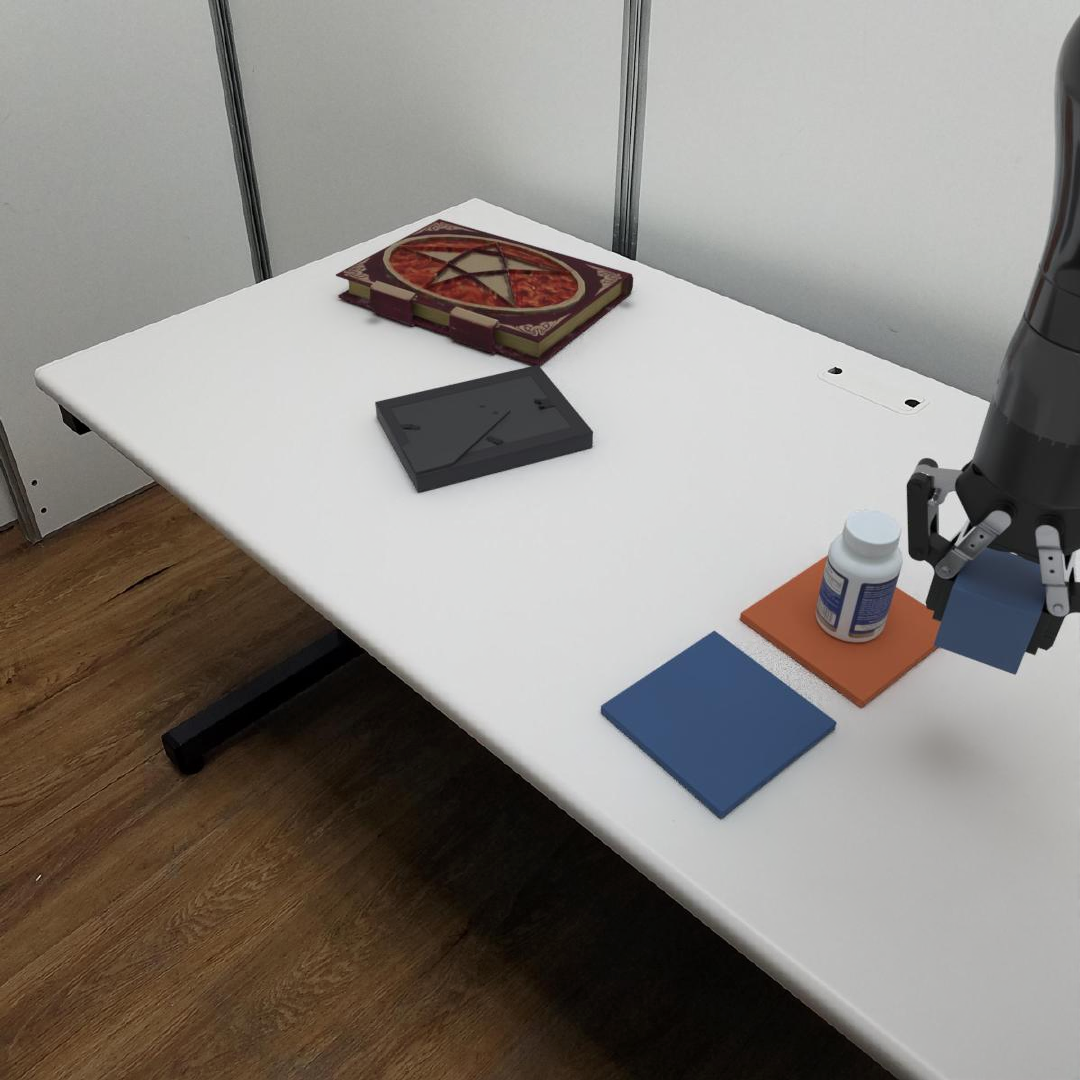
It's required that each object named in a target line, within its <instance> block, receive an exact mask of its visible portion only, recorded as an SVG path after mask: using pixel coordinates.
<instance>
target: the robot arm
mask: <svg viewBox="0 0 1080 1080" xmlns="http://www.w3.org/2000/svg"><path fill="white" fill-rule="evenodd" d="M1064 37H1065V38H1064V39H1063V41H1062V44H1061V47H1060V49H1059V53H1058V56H1057V60H1056V66H1055V72H1054V85H1053V86H1054V87H1053V121H1054V122H1053V123H1054V124H1053V125H1054V172H1053V184H1052V198H1051V207H1050V213H1049V214H1050V215H1049V222H1048V229H1047V234H1046V239H1045V242H1044V246H1043V250H1042V253H1041V256H1040V260H1039V263H1038V265H1037V269H1036V272H1035V275H1034V276H1035V277H1034V279H1033V282H1032V286H1031V288H1030V291H1029V294H1028V298H1027V301H1026V304H1025V307H1024V310H1023V313H1022V315H1021V319H1020V320H1019V322H1018V324H1017V326H1016V328H1015V330H1014V333H1013V334H1012V337H1011V339H1010V341H1009V344H1008V345H1007V348H1006V351H1005V354H1004V357H1003V360H1002V363H1001V365H1000V369H999V373H998V375H997V376H998V377H997V379H996V383H995V386H994V389H993V392H992V395H991V398H990V401H989V402H990V403H989V406H988V408H987V412H986V415H985V418H984V421H983V425H982V428H981V431H980V434H979V437H978V441H977V443H976V447H975V450H974V453H973V456H972V459H970V461H968V462H967V463H966V464H964V466H963V467H962V468H961V469H954V468H942V467H939V464H938V462H937V461H936V460H935V459H934V458H930V457H923V458H921V459H920V460H919V461H918V463H917V465H916V466H915V468H914V469H913V472H912V474H911V475H910V477H909V479H908V481H907V483H906V516H907V517H906V518H907V519H906V521H907V523H906V524H907V549H908V550H907V552H908V555H909V557H910V558H911V559H913V560H914V561H917V562H926V563H927V564H929V565H930V566H931V568H932V569H933V575H932V580H931V582H930V586H929V589H928V592H927V596H926V599H925V606H926V607H927V609H929V610H932V611H934V614H933V617H932V619H934V620H937V621H939V622H941V621H942V618H943V615H944V612H945V609H946V605H947V602H948V599H949V596H950V593H951V590H952V587H953V585H954V583H955V580H956V578H957V576H958V574H959V571H960V570H961V569H962V568H963V567H964V566H965V565H966V564H967V563H968V562H969V561H970V562H971V561H973V560H974V559H975V558H976V557H977V556H978V555H979V554H980V553H981V552H982V551H983V550H984V549H985V548H986V547H987V548H990V549H993V550H996V551H1001V552H1009V553H1012V554H1016V555H1018V556H1020V557H1022V558H1024V559H1026V560H1028V561H1031V562H1034V563H1037V564H1040V570H1041V579H1042V585H1044V586H1045V594H1046V600H1045V603H1044V606H1043V609H1042V611H1041V614H1040V617H1039V620H1038V622H1037V625H1036V627H1035V629H1034V632H1033V634H1032V637H1031V639H1030V642H1029V644H1028V646H1027V649H1026V651H1025V653H1026V654H1030V655H1032V656H1036V654H1037V652H1038V650H1039V649H1041V650H1044V651H1048V650H1049V649H1051V648H1052V647H1053V646H1054V644H1055V641H1056V639H1057V638H1058V634H1059V632H1060V630H1061V627H1062V626H1063V623H1064V620H1065V618H1067V616H1068V615H1071V614H1077V613H1078V614H1080V581H1077V570H1076V569H1077V568H1076V558H1077V557H1076V556H1077V551H1079V550H1080V14H1079V15H1078V16H1077V17H1076V19H1075V20H1074V22H1073V23H1072V25H1071V27H1070V28H1069V30H1068V31H1067V34H1066V36H1064ZM952 492H955V494H956V496H957V498H958V500H959V502H960V504H961V506H962V508H963V510H964V512H965V514H966V516H967V518H968V519H966V521H965V522H964V524H963V526H961V528H960V529H959V530H957V532H956V533H955V534H954V535H953V536H952V537H951V538H950V540H949V539H947V538H945V537H944V536H943V535H941V534H940V505H942V504H944V502H945V501H946V498H947V496H948V494H949V493H952Z"/></svg>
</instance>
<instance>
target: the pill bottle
mask: <svg viewBox="0 0 1080 1080" xmlns="http://www.w3.org/2000/svg"><path fill="white" fill-rule="evenodd" d="M901 535H902V528H901V525H900V523H899V522H898V521H897V520H896V518H894V517H893V516H891V515H890V514H888V513H886V512H884V511H880V510H876V509H860V510H856V511H853V512H851V513H850V514H849V515H848V516H847V518H846V519H845V522H844V526H843V528H842V532H841V533H840V534H838V535H837V536H836V537H834V539H833V540H832V542H831V543H830V545H829V549H828V551H827V555H828V556H827V555H826V556H827V560H826V565H825V569H824V574H823V578H822V583H821V587H820V592H819V596H818V601H817V607H816V619H817V621H818V623H819V625H820V626H821V627H822V628H823V629H824V631H826V632H827V633H828V634H830V635H831V636H833V637H835V638H838V639H840V640H843V641H847V642H866V641H869V640H872V639H874V638H876V637H877V636H878V635H879V634H880V633H881V632H882V630H883V628H884V626H885V623H886V620H887V616H888V612H889V609H890V605H891V602H892V599H893V595H894V592H895V588H896V587H897V584H898V581H899V578H900V574H901V571H902V567H903V562H904V558H903V553H902V551H901V549H900V547H899V543H900V538H901Z"/></svg>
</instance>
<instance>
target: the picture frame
mask: <svg viewBox="0 0 1080 1080" xmlns="http://www.w3.org/2000/svg"><path fill="white" fill-rule="evenodd" d="M374 405H375V406H374V407H375V412H376V413H375V414H376V419H377V420H378V422H379V424H380V426H381V428H382V430H383V432H384V433H385V435H386V437H387V439H388V440H389V442H390V444H391V446H392V448H393V450H394V452H395V453H396V455H397V457H398V459H399V461H400V463H401V464H402V467H403V468H404V470H405V472H406V474H407V475H408V477H409V479H410V481H411V482H412V485H413V486H414V487H415V489H416V492H417V493H421V492H426V491H429V490H434V489H437V488H442V487H445V486H448V485H449V486H450V485H453V484H457V483H461V482H465V481H468V480H472V479H475V478H480V477H484V476H488V475H490V474H495V473H498V472H503V471H506V470H511V469H514V468H518V467H522V466H525V465H529V464H533V463H538V462H541V461H545V460H549V459H554V458H556V457H561V456H564V455H567V454H572V453H575V452H580V451H584V450H587V449H591V448H593V445H594V444H593V443H594V431H593V429H592V428H591V427H590V426H589V424H588V423H587V422H586V421H585V420H584V419H583V417H582V416H581V415H580V414H579V412H578V411H577V410H576V408H575V407H573V405H572V404H571V402H569V400H568V398H566V397H565V395H564V394H563V393H562V392H561V390H560V389H559V388H558V387H557V385H556V384H555V383H554V382H553V381H552V379H551V378H550V377H549V376H548V375H547V373H546V372H545V370H543V369H542V367H541V366H540V365H531V366H527V367H522V368H518V369H514V370H509V371H505V372H500V373H497V374H491V375H488V376H482V377H479V378H473V379H470V380H465V381H461V382H457V383H456V382H455V383H452V384H448V385H443V386H439V387H435V388H430V389H426V390H422V391H421V390H420V391H417V392H412V393H409V394H404V395H400V396H395V397H391V398H386V399H381V400H378V401H374Z"/></svg>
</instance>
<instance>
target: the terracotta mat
mask: <svg viewBox="0 0 1080 1080" xmlns="http://www.w3.org/2000/svg"><path fill="white" fill-rule="evenodd" d="M827 556H828V554H826V555H825V556H824V557H822V558H821V559H820V560H818V561H817V562H815V563H814V564H812V565H810V566H809V567H807V568H806V569H804V570H803V571H802V572H800V573H798V574H797V575H796V576H794V577H793V578H791V579H789V580H788V581H786V582H785V583H784V584H782V585H780V586H779V587H777V588H776V589H774V590H773V591H771V592H770V593H768V594H767V595H766V596H764V597H762V598H761V599H760V600H759V599H758V601H756V602H755V603H753V604H752V605H750V606H749V607H747V608H745V609H744V610H743V611H741V612H740V616H739V620H740V621H741V622H742V623H744V624H745V625H747V626H748V627H749V628H750V629H752V630H753V631H755V632H756V633H758V634H759V635H760V636H761V637H763V638H764V639H765V640H767V641H768V642H770V643H771V644H773V645H774V646H775V647H776V648H778V649H779V650H781V651H782V652H784V653H785V654H787V656H788V657H790V658H792V660H794V661H796V663H799V665H801V666H803V667H804V668H806V669H807V670H808V671H810V672H811V673H812V674H814V675H815V676H816V677H818V678H819V679H820V680H822V681H823V682H824V683H826V684H828V685H829V686H830V687H832V689H834V690H836V692H839V693H840V694H841V695H843V696H844V697H845V698H846V699H848V700H849V701H850V702H852V703H854V705H856V706H857V707H859V708H860V709H862V708H863V707H865V706H866V705H867V704H869V703H870V702H871V701H872V700H873V699H874V698H876V697H877V696H879V695H880V694H881V693H882V692H884V691H885V690H886V689H887V688H889V687H890V686H891V685H892V684H894V683H895V682H897V680H899V679H900V678H901V677H903V676H904V675H905V674H906V673H908V672H909V671H910V670H911V669H913V668H914V667H916V665H918V664H920V662H922V661H923V660H924V659H925V658H926V657H928V656H929V655H930V654H932V653H933V652H934V651H936V650H937V649H938V648H939V647H937V646H934V642H935V639H936V636H937V633H938V630H939V627H940V624H941V622H939V621H937V620H934V619H932V617H933V614H934V611H932V610H929V609H927V607H926V604H924V603H922V602H921V601H919V600H918V599H916V598H915V597H913V596H911V595H910V594H908V593H906V592H905V591H903V590H902V589H901V588H899V587H897V586H896V588H895V592H894V595H893V599H892V602H891V605H890V609H889V612H888V616H887V620H886V623H885V626H884V628H883V630H882V632H881V633H880V634H879V635H878V636H877V637H876V638H874V639H872V640H869V641H866V642H847V641H843V640H840V639H838V638H835V637H833V636H831V635H830V634H828V633H827V632H826V631H824V629H823V628H822V627H821V626H820V625H819V623H818V621H817V619H816V607H817V601H818V596H819V592H820V587H821V583H822V578H823V574H824V569H825V565H826V560H827Z"/></svg>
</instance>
